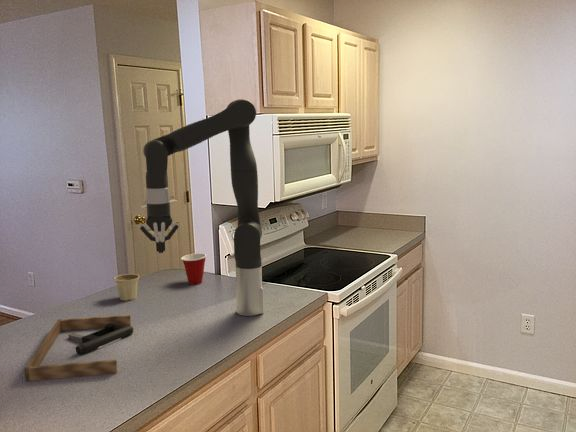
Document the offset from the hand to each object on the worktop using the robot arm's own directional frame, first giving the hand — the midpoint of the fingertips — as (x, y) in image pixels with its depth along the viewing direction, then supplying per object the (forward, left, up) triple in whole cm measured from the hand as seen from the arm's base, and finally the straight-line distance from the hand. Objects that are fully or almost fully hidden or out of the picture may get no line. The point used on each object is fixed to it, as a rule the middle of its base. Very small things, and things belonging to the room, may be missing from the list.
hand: (161, 252), depth 171 cm
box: (+22, +17, -25) cm, 37 cm away
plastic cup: (-11, -46, -25) cm, 53 cm away
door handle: (+21, +10, -25) cm, 34 cm away
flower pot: (+15, -30, -25) cm, 41 cm away
